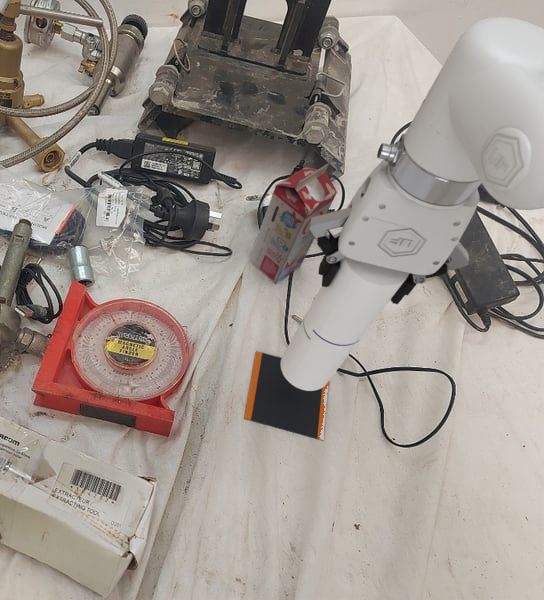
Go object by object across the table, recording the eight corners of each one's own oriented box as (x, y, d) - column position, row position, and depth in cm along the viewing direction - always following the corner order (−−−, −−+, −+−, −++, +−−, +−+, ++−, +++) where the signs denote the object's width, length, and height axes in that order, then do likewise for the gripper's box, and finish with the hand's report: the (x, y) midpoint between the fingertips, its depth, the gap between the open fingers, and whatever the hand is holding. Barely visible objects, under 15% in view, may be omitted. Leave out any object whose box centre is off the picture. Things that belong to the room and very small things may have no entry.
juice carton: (300, 266, 104) (345, 175, 85) (275, 284, 101) (315, 194, 83) (273, 243, 106) (311, 150, 88) (248, 260, 103) (282, 168, 85)
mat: (323, 440, 85) (323, 440, 85) (244, 418, 86) (244, 418, 86) (329, 371, 92) (330, 370, 92) (256, 351, 93) (256, 350, 93)
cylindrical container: (307, 400, 79) (383, 297, 58) (270, 363, 82) (330, 252, 61) (340, 372, 82) (424, 264, 61) (303, 337, 85) (371, 223, 64)
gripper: (336, 174, 49) (280, 293, 64) (543, 221, 48) (438, 331, 63) (340, 120, 54) (287, 243, 68) (531, 161, 52) (435, 278, 67)
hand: (359, 284), depth 65 cm, fingers closed on cylindrical container, 7 cm apart
